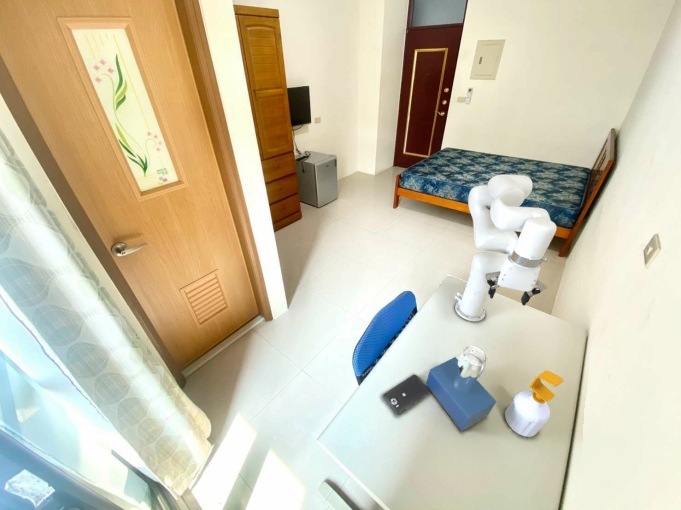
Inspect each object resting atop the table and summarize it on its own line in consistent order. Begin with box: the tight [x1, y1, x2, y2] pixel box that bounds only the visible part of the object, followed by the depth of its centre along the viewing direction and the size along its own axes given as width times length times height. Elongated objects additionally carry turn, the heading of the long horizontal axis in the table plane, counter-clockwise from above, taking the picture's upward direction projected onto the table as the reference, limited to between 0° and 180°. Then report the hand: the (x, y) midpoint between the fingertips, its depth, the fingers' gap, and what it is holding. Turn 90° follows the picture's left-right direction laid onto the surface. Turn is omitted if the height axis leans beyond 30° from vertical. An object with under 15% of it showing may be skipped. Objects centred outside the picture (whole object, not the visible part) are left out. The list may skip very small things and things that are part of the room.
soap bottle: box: [504, 369, 564, 438], centre depth 81 cm, size 9×9×25 cm
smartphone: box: [382, 374, 430, 416], centre depth 95 cm, size 8×15×1 cm, turn 121°
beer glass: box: [452, 345, 488, 393], centre depth 84 cm, size 7×7×15 cm
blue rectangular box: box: [425, 356, 497, 432], centre depth 91 cm, size 17×11×10 cm, turn 25°
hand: (506, 299), depth 93 cm, fingers open, 9 cm apart
